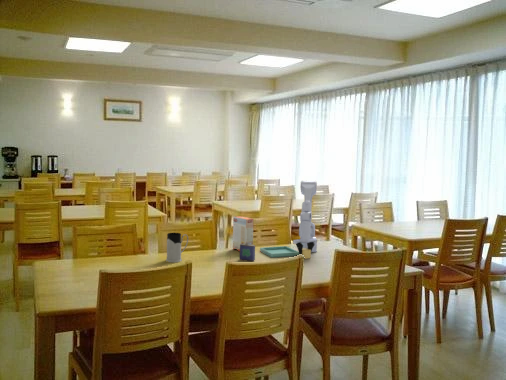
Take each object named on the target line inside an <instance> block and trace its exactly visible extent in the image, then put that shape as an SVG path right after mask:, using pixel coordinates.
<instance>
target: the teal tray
mask: <svg viewBox="0 0 506 380" xmlns="http://www.w3.org/2000/svg"><path fill="white" fill-rule="evenodd" d="M259 252H261V253H262V254H264V255H266V256H267V257H269V258H282V257H283V258H284V257H285V258H286V257H288V256H289V257H297V256H296V255H299V251H298V250H296V249H294V248H292V247H290V246H287V245H282V246H269V247H268V246H267V247H264V246H263V247H259Z"/></svg>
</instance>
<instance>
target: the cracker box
mask: <svg viewBox="0 0 506 380" xmlns="http://www.w3.org/2000/svg"><path fill="white" fill-rule="evenodd" d="M232 220H233V222H232V223H233V226H232V230H233V231H232V233H233V234H232V250H234V249H237V250H238V251H237V250H236V251H237V252H240V244H243V243H245V244H246V242H249V244H248V245H254V218H251V217H247V216H242V215H241V216H240V215H239V216H233V219H232Z"/></svg>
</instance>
